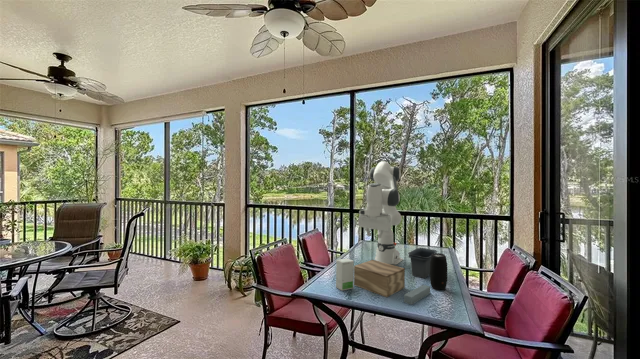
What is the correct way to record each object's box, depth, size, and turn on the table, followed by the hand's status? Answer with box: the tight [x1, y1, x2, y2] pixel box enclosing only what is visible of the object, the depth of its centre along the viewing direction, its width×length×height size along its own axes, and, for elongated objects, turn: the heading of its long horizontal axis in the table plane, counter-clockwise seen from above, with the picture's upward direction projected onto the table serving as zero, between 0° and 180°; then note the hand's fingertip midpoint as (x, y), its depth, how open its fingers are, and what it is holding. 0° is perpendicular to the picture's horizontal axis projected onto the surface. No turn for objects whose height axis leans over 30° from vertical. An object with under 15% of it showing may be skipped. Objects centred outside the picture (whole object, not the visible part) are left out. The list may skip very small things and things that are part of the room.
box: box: [353, 268, 406, 298], centre depth 154 cm, size 18×22×10 cm
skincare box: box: [335, 258, 355, 291], centre depth 152 cm, size 8×7×16 cm
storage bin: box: [408, 247, 439, 279], centre depth 176 cm, size 21×16×14 cm
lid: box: [354, 259, 406, 278], centre depth 154 cm, size 18×22×1 cm
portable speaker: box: [429, 252, 448, 291], centre depth 152 cm, size 8×9×19 cm
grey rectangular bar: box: [403, 284, 431, 306], centre depth 140 cm, size 20×4×4 cm, turn 133°
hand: (374, 236), depth 151 cm, fingers open, 6 cm apart
